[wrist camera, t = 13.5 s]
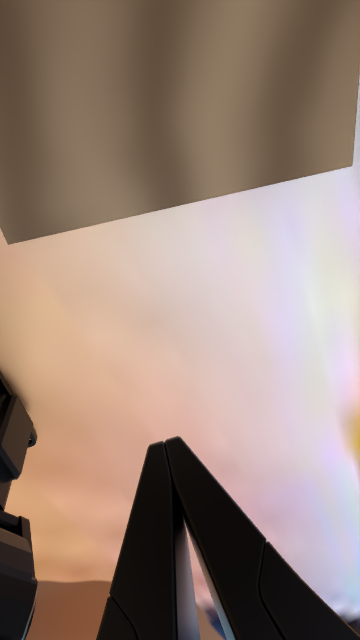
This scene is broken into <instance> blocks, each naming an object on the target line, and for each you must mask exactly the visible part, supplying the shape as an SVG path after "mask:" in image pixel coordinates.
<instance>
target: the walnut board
mask: <svg viewBox="0 0 360 640" xmlns="http://www.w3.org/2000/svg"><path fill="white" fill-rule="evenodd" d="M359 72H360V0H0V228H1V230H2V232H3V235H4V237H5V239H6V241H7V243H8V245H9V244H13V243H18V242H22V241H27V240H31V239H35V238H40V237H44V236H48V235H53V234H57V233H62V232H66V231H70V230H75V229H79V228H83V227H88V226H92V225H96V224H101V223H105V222H110V221H114V220H118V219H123V218H127V217H131V216H136V215H140V214H145V213H149V212H153V211H158V210H162V209H166V208H171V207H175V206H180V205H184V204H188V203H193V202H197V201H201V200H206V199H210V198H215V197H219V196H223V195H228V194H232V193H236V192H241V191H245V190H250V189H254V188H258V187H263V186H267V185H271V184H276V183H280V182H285V181H289V180H293V179H298V178H302V177H306V176H311V175H315V174H319V173H324V172H328V171H333V170H337V169H341V168H346V167H350V166H352V164H353V151H354V138H355V125H356V112H357V98H358V85H359Z"/></svg>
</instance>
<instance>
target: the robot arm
mask: <svg viewBox="0 0 360 640" xmlns="http://www.w3.org/2000/svg"><path fill="white" fill-rule="evenodd" d="M32 426H33V422H32V421H31V419H30V417H29V415H28V413H27V412H26V410H25V408H24V406H23V405H22V403H21V401H20V399H19V398H18V396H16V395H15V394H13V393H12V391H11V389H10V387H9V386H8V384H7V382H6V380H5V379H4V377H3V375H2V373H1V372H0V640H25V639H26V636H27V633H28V631H29V628H30V625H31V622H32V618H33V614H34V610H35V603H36V595H37V591H38V581H37V579H36V578H35V571H34V561H33V551H32V542H31V532H30V522H29V519H26V518H24V517H22V516H19V517H16V516H14V515H12V514H9V513H7V512H5V511H4V509H5V505H6V501H7V498H8V494H9V490H10V486H11V482H12V480H15V479H18V478H19V476H20V474H21V472H22V468H23V463H24V459H25V455H26V451H27V448H28V447H32V446H34V445H35V444H36V441H37V435H36V433H35V431H34V429H33V428H32ZM29 439H31V440H29ZM184 520H185V521H184ZM185 523H186V526H185ZM186 527H187V530H188V533H189V536H190V539H191V541H192V544H193V547H194V550H195V552H196V555H197V558H198V561H199V563H200V566H201V569H202V572H203V574H204V577H205V580H206V583H207V585H208V588H209V591H210V594H211V596H212V599H213V602H214V605H215V607H216V610H217V613H218V616H219V618H220V621H221V624H222V627H223V629H224V632H225V635H226V638H227V640H360V636H359V635H358V634H357V633H356V632H355V631H354V630H353V629H352V628H351V627H350V626H349V625H348V624H347V623H346V622H345V621H344V620H343V619H342V618H341V617H340V616H339V615H337V614H336V613H335V612H334V611H333V610H332V609H331V608H330V607H329V606H328V605H327V604H326V603H325V602H324V601H323V600H322V599H321V598H320V597H319V596H318V595H317V594H316V593H315V592H314V591H313V590H312V589H311V588H310V587H309V586H308V585H307V584H306V583H305V582H304V581H303V580H302V579H301V578H300V577H299V575H298V574H297V573H296V572H295V571H294V570H293V569H292V568H291V566H290V565H289V564H288V563H287V562H286V561H285V560H284V559H283V558H282V556H281V555H280V554H279V553H278V552H277V551H276V549H275V548H274V547H273V546H272V545H271V543H270V542H267V541H266V538H265V537H264V535H263V534H262V533H261V532H260V531H259V529H258V528H257V527H256V526H255V525H254V524H253V522H252V521H251V520H250V519H249V518H248V516H247V515H246V514H245V513H244V512H243V511H242V509H241V508H240V507H239V506H238V505H237V503H236V502H235V501H234V500H233V499H232V498H231V496H230V495H229V494H228V493H227V492H226V490H225V489H224V488H223V487H222V486H221V485H220V483H219V482H218V481H217V480H216V479H215V477H214V476H213V475H212V474H211V473H210V471H209V470H208V469H207V468H206V467H205V466H204V464H203V463H202V462H201V461H200V460H199V458H198V457H197V456H196V455H195V454H194V453H193V451H192V450H191V449H190V448H189V447H188V445H187V444H186V443H185V442H184V441H183V440H182V438H181V437H179V436H176V437H173V438H170V439H167V440H166V441H165V443H164V442H163V441H160V442H156V443H153V444H150V445H149V447H148V449H147V453H146V457H145V461H144V464H143V468H142V472H141V476H140V479H139V483H138V487H137V491H136V494H135V498H134V502H133V506H132V509H131V513H130V517H129V521H128V524H127V528H126V532H125V536H124V539H123V543H122V547H121V550H120V554H119V558H118V562H117V565H116V569H115V573H114V577H113V580H112V584H111V588H110V592H109V593H110V595H111V596H109V597H108V599H107V603H106V606H105V610H104V614H103V617H102V621H101V624H100V628H99V631H98V635H97V638H96V640H200V633H199V625H198V617H197V610H196V601H195V593H194V585H193V577H192V569H191V562H190V554H189V546H188V538H187V531H186Z"/></svg>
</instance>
